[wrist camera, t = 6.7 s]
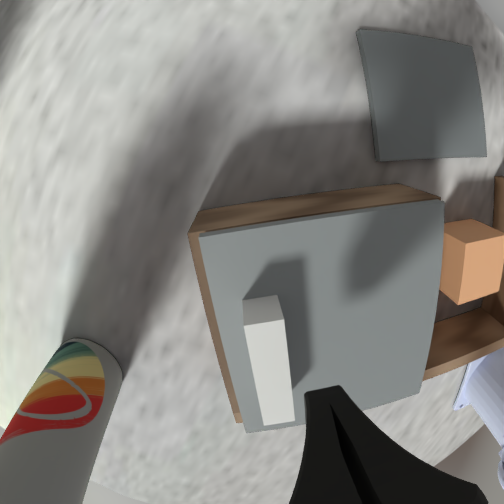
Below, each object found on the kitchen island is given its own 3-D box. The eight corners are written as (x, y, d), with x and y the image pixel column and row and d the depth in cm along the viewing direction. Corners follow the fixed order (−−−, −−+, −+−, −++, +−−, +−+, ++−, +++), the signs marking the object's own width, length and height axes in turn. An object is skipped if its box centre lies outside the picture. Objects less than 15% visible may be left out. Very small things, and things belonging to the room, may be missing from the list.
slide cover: (437, 199, 13) (471, 212, 10) (415, 387, 17) (432, 413, 15) (199, 233, 13) (192, 255, 10) (245, 425, 17) (247, 459, 14)
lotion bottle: (65, 323, 19) (-69, 559, 1) (133, 360, 21) (58, 631, 2) (54, 370, 21) (-41, 568, 2) (113, 402, 22) (54, 618, 3)
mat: (467, 48, 14) (472, 46, 14) (481, 156, 17) (486, 157, 16) (356, 32, 14) (359, 29, 14) (375, 160, 17) (380, 161, 16)
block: (471, 218, 19) (507, 234, 15) (466, 269, 20) (498, 291, 16) (430, 225, 19) (465, 243, 15) (427, 279, 20) (457, 305, 16)
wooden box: (502, 175, 17) (544, 187, 13) (486, 314, 22) (516, 340, 17) (198, 210, 17) (187, 233, 13) (235, 376, 21) (236, 423, 17)
